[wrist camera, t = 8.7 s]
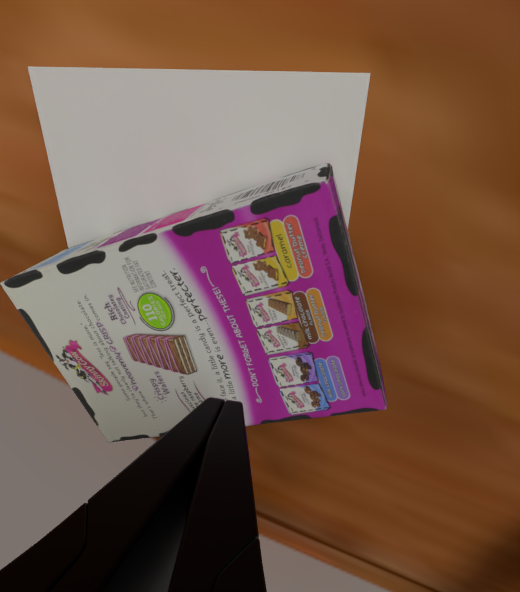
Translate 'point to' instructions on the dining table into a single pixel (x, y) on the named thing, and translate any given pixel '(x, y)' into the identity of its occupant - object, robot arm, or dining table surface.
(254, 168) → the mat
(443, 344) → the dining table surface
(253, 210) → the candy bar box
